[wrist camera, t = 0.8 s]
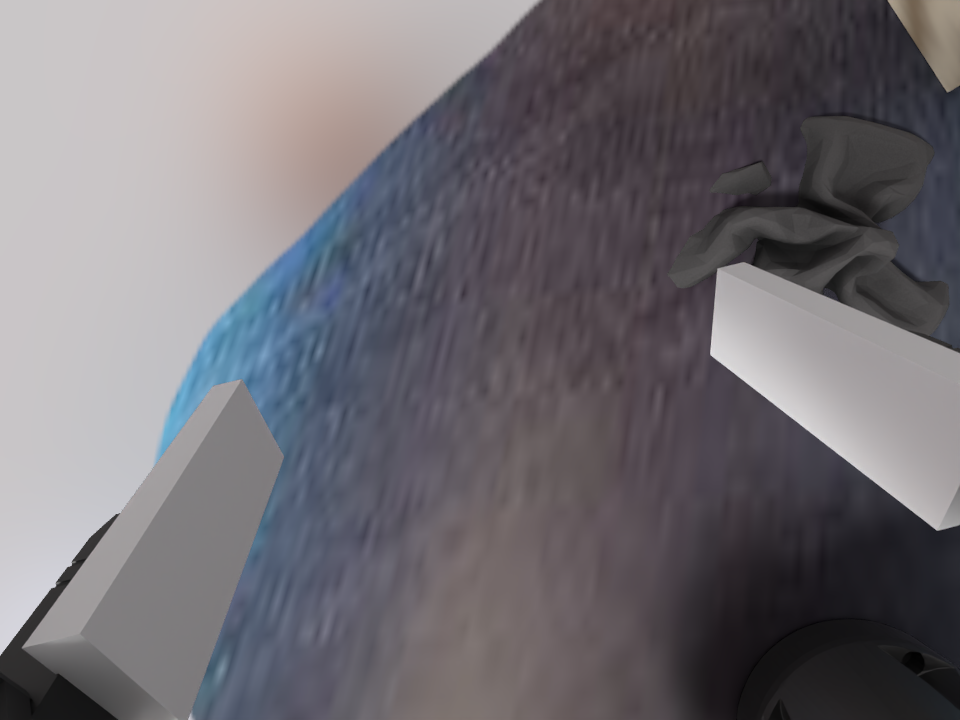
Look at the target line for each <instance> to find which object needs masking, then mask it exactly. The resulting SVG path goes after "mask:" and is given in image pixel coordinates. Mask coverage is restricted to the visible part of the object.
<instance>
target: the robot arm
mask: <svg viewBox="0 0 960 720" xmlns="http://www.w3.org/2000/svg"><path fill="white" fill-rule="evenodd" d="M710 355H711V356H712V357H714V358H715V359H716V360H718V361H719V362H720V363H722V364H723V365H724V366H725V367H727V368H728V369H729V370H731V371H732V372H733V373H734V374H736V375H737V376H738V377H740V378H741V379H742V380H743V381H745V382H746V383H747V384H749V385H750V386H751V387H752V388H754V389H755V390H756V391H758V392H759V393H760V394H762V395H763V396H764V397H765V398H767V399H768V400H769V401H771V402H772V403H773V404H774V405H776V406H777V407H778V408H780V409H781V410H782V411H783V412H785V413H786V414H787V415H789V416H790V417H791V418H792V419H794V420H795V421H796V422H798V423H799V424H800V425H802V426H803V427H804V428H805V429H807V430H808V431H809V432H811V433H812V434H813V435H814V436H816V437H817V438H818V439H820V440H821V441H822V442H823V443H825V444H826V445H827V446H829V447H830V448H831V449H832V450H834V451H835V452H836V453H838V454H839V455H840V456H842V457H843V458H844V459H845V460H847V461H848V462H849V463H851V464H852V465H853V466H854V467H856V468H857V469H858V470H860V471H861V472H862V473H863V474H865V475H866V476H867V477H869V478H870V479H871V480H872V481H874V482H875V483H876V484H878V485H879V486H880V487H882V488H883V489H884V490H885V491H887V492H888V493H889V494H891V495H892V496H893V497H894V498H896V499H897V500H898V501H900V502H901V503H902V504H903V505H905V506H906V507H907V508H909V509H910V510H911V511H912V512H914V513H915V514H916V515H918V516H919V517H920V518H922V519H923V520H924V521H925V522H927V523H928V524H929V525H931V526H932V527H933V528H934V529H936V530H937V531H939V530H942V529H946V528H950V527H954V526H958V525H960V348H954V349H953V348H952V345H950V344H947V343H945V342H943V341H940V340H938V339H935V338H933V337H931V336H928V335H926V334H923V333H919V332H915V331H910V330H906V329H902V328H899V327H896V326H894V325H892V324H889V323H887V322H885V321H882V320H880V319H877V318H875V317H873V316H870V315H868V314H866V313H863V312H861V311H859V310H856V309H854V308H851V307H849V306H847V305H844V304H842V303H840V302H837V301H835V300H832V299H830V298H828V297H825V296H823V295H821V294H818V293H816V292H814V291H811V290H809V289H806V288H804V287H802V286H799V285H797V284H795V283H792V282H790V281H787V280H785V279H783V278H780V277H778V276H776V275H773V274H771V273H769V272H766V271H764V270H761V269H759V268H757V267H754V266H752V265H750V264H747V263H745V262H743V263H739V264H734V265H730V266H726V267H721V268H718V269H717V281H716V292H715V304H714V316H713V328H712V340H711V351H710ZM283 458H284V456H283V454H282V452H281V451H280V449H279V447H278V445H277V443H276V441H275V439H274V438H273V436H272V434H271V432H270V430H269V428H268V426H267V425H266V423H265V421H264V419H263V417H262V415H261V413H260V412H259V410H258V408H257V406H256V404H255V402H254V400H253V399H252V397H251V395H250V393H249V391H248V389H247V387H246V386H245V384H244V382H243V380H242V379H241V380H236V381H232V382H228V383H223V384H219V385H215V386H213V387H212V388H211V390H210V391H209V392H208V394H207V395H206V396H205V398H204V399H203V400H202V402H201V403H200V405H199V406H198V407H197V409H196V410H195V411H194V413H193V414H192V416H191V417H190V418H189V420H188V421H187V422H186V424H185V425H184V427H183V428H182V429H181V431H180V432H179V433H178V435H177V436H176V437H175V439H174V440H173V442H172V443H171V444H170V446H169V447H168V448H167V450H166V451H165V453H164V454H163V455H162V457H161V458H160V459H159V461H158V462H157V464H156V465H155V466H154V468H153V469H152V471H151V472H150V473H149V474H148V476H147V477H146V479H145V480H144V481H143V483H142V484H141V486H140V487H139V488H138V490H137V491H136V492H135V494H134V495H133V496H132V498H131V499H130V501H129V502H128V503H127V505H126V506H125V507H124V509H123V510H122V512H121V513H119V514H116V515H115V516H114V517H112V518H111V519H110V520H109V521H108V522H107V523H106V524H105V525H104V526H102V528H100V529H99V530H98V531H97V532H96V533H95V534H94V535H92V536H91V537H90V538H89V540H88V541H87V542H86V544H85V545H84V546H83V548H82V549H81V550H80V552H79V553H78V554H77V555H76V557H75V558H74V559H73V561H72V566H70V567H67V569H66V570H65V572H64V573H63V574H62V575H61V577H60V578H59V579H58V581H57V582H56V587H55V588H52V589H51V590H50V591H49V593H48V594H47V595H46V596H45V598H44V599H43V600H42V602H41V603H40V604H39V606H38V607H37V608H36V609H35V611H34V612H33V614H32V615H31V616H30V617H29V619H28V620H27V621H26V623H25V624H24V625H23V627H22V628H21V629H20V631H19V632H18V633H17V634H16V636H15V637H14V638H13V640H12V641H11V642H10V644H9V645H8V646H7V648H6V649H5V650H4V652H3V653H2V654H1V656H0V720H188V718H189V715H190V713H191V710H192V707H193V705H194V702H195V699H196V696H197V694H198V691H199V688H200V685H201V683H202V680H203V677H204V674H205V672H206V669H207V666H208V664H209V661H210V658H211V655H212V653H213V650H214V647H215V644H216V642H217V639H218V636H219V633H220V631H221V628H222V625H223V623H224V620H225V617H226V614H227V612H228V609H229V606H230V603H231V601H232V598H233V595H234V592H235V590H236V587H237V584H238V582H239V579H240V576H241V573H242V571H243V568H244V565H245V562H246V560H247V557H248V554H249V551H250V549H251V546H252V543H253V540H254V538H255V535H256V532H257V530H258V527H259V524H260V521H261V519H262V516H263V513H264V510H265V508H266V505H267V502H268V499H269V497H270V494H271V491H272V489H273V486H274V483H275V480H276V478H277V475H278V472H279V469H280V467H281V464H282V461H283ZM737 720H960V669H959V668H957V667H956V666H955V665H954V664H952V663H951V662H950V661H948V660H947V659H946V658H944V657H943V656H941V655H939V654H938V653H936V652H935V651H933V650H932V649H930V648H929V647H927V646H926V645H924V644H923V643H921V642H920V641H918V640H917V639H915V638H913V637H912V636H910V635H908V634H906V633H904V632H903V631H900V630H898V629H896V628H893V627H890V626H888V625H884V624H881V623H877V622H872V621H867V620H858V619H839V620H830V621H824V622H820V623H816V624H813V625H810V626H807V627H805V628H802V629H800V630H798V631H796V632H794V633H792V634H790V635H789V636H787V637H785V638H784V639H782V640H781V641H780V642H778V643H777V644H776V645H775V646H773V647H772V648H771V649H770V650H769V651H768V652H767V653H766V654H765V655H764V656H763V657H762V659H761V660H760V661H759V662H758V664H757V665H756V666H755V668H754V669H753V671H752V673H751V674H750V676H749V678H748V680H747V682H746V684H745V686H744V689H743V692H742V695H741V698H740V702H739V706H738V711H737Z"/></svg>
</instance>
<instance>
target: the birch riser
mask: <svg viewBox="0 0 960 720" xmlns="http://www.w3.org/2000/svg"><path fill="white" fill-rule="evenodd" d="M888 2H889V4H890V5H891V7H892V8H893V10H894V11H895V13H896V14H897V16H898V17H899V19H900V21H901V22H902V24H903V25H904V27H905V28H906V30H907V31H908V33H909V34H910V36H911V37H912V39H913V41H914V42H915V44H916V45H917V47H918V48H919V50H920V51H921V53H922V54H923V56H924V58H925V59H926V61H927V62H928V64H929V65H930V67H931V68H932V70H933V71H934V73H935V74H936V76H937V78H938V79H939V81H940V82H941V84H942V85H943V87H944V88H945V90H946V91H947V93H948V92H950V91H951V90H953V89H955V88H956V87H958V86H960V0H888Z"/></svg>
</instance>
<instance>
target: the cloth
mask: <svg viewBox="0 0 960 720" xmlns="http://www.w3.org/2000/svg"><path fill="white" fill-rule="evenodd" d="M800 130H801V132H802V134H803V136H804V138H805V141H806V143H807V160H806V164H805V169H804V173H803V177H802V179H801V182H800V186H799V195H798V198H799V204H798V205H797V206H796V207H749V206H739V207H734V208H730V209H725V210H723V211H722V212H721V213H720V214H718V215H716V216H714V217H713V218H712V220H711V221H710V222H709V223H708V224H707V225H706V226H705V228H704V229H703V230H701V231H699V232H697V233H696V234H694V235H692V236H690V238H689V239H688V241H687V243H686V244H685V246H684V247H683V249H682V251H681V252H680V254H679V255H678V257H677V258H676V260H675V262H674V264H673V266H672V267H671V269H670V271H669V272H668V274H667V275H668V276H669V277H670V278H671V279H672V280H673V282H674V283H675V285H676V286H677V287H679V288H687V287H692V286H694V285H696V284H697V283H699V282H701V281H703V280H705V279H707V278H708V277H710V276H711V275H713V274H714V273H716V272H717V269H718V268H721V267H724V266H725V265H727V264H728V263H729V262H731V261H732V260H733V259H735V258H736V257H737V256H739V255H740V254H741V253H742V252H744V251H745V250H746V249H748V248H749V247H750V245H751V244H752V242H753V240H754V239H756V238H758V240H759V241H758V242H757V245H756V254H755V259H754V264H753V266H754V267H757V268H759V269H761V270H764V271H766V272H769V273H771V274H773V275H776V276H778V277H780V278H783V279H785V280H787V281H790V282H792V283H795V284H797V285H799V286H802V287H804V288H806V289H809V290H811V291H814V292H816V293H818V294H821V295H823V288H828V289H830V290H832V291H833V292H834V293H835V294H836V295H837V297H838V299H839V301H840V303H842V304H844V305H847V306H849V307H851V308H854V309H856V310H859V311H861V312H863V313H866V314H868V315H870V316H873V317H875V318H877V319H880V320H882V321H885V322H887V323H889V324H892V325H894V326H896V327H899V328H902V329H906V330H910V331H915V332H919V333H923V334H926V335H928V336H930V335H931V334H932V333H933V332H934V331H935V330H936V329H937V327H938V326H939V324H940V322H941V321H942V319H943V318H944V316H945V314H946V311H947V309H948V306H949V294H948V284H946V283H944V282H942V281H930V282H917V281H913V280H912V279H911V278H909V277H908V276H907V275H905V274H904V273H903V272H901V271H900V270H899V269H898V268H897V267H896V266H895V265H894V264H893V263H892V262H891V260H892V259H894V258H895V255H896V252H897V250H898V247H899V244H898V242H897V240H896V238H895V236H894V234H893V232H891V231H887V230H883V229H881V228H880V227H879V226H878V225H877V224H875V223H874V222H876V223H879V222H882V221H885V220H887V219H890V218H892V217H893V216H895V215H897V214H898V213H900V212H902V211H903V210H905V209H906V208H907V207H908V206H909V205H910V204H911V203H912V202H913V201H914V200H915V198H916V196H917V195H918V193H919V191H920V190H921V188H922V186H923V182H924V177H925V173H926V169H927V166H928V164H929V163H930V162H931V160H932V158H933V156H934V150H933V147H932V146H931V145H929V144H928V143H927V142H925V141H924V140H922V139H921V138H919V137H917V136H915V135H914V134H912V133H909V132H905V131H902V130H898V129H895V128H892V127H888V126H885V125H881V124H878V123H874V122H870V121H865V120H861V119H857V118H852V117H848V116H823V117H808V118H807V119H805V120H804V121H803V123H802V125H801V128H800ZM770 185H771V175H770V173H769V172H768V170H767V168H766V166H765V165H764V163H763V162H760V163H757V164H754V165H750V166H747V167H744V168H740V169H736V170H733V171H731V172H728V173H723V174H722V175H721V176H720V178H719V179H718V180H717V181H716V183H715V184H714V185H713V186H712V188H711V189H710V192H711V193H713V192H717V193H726V194H732V195H740V194H746V193H751V194H753V195H757V194H759V193H760V192H762V191H764V190H765V189H767V188H768V187H769V186H770ZM823 296H824V295H823Z"/></svg>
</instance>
